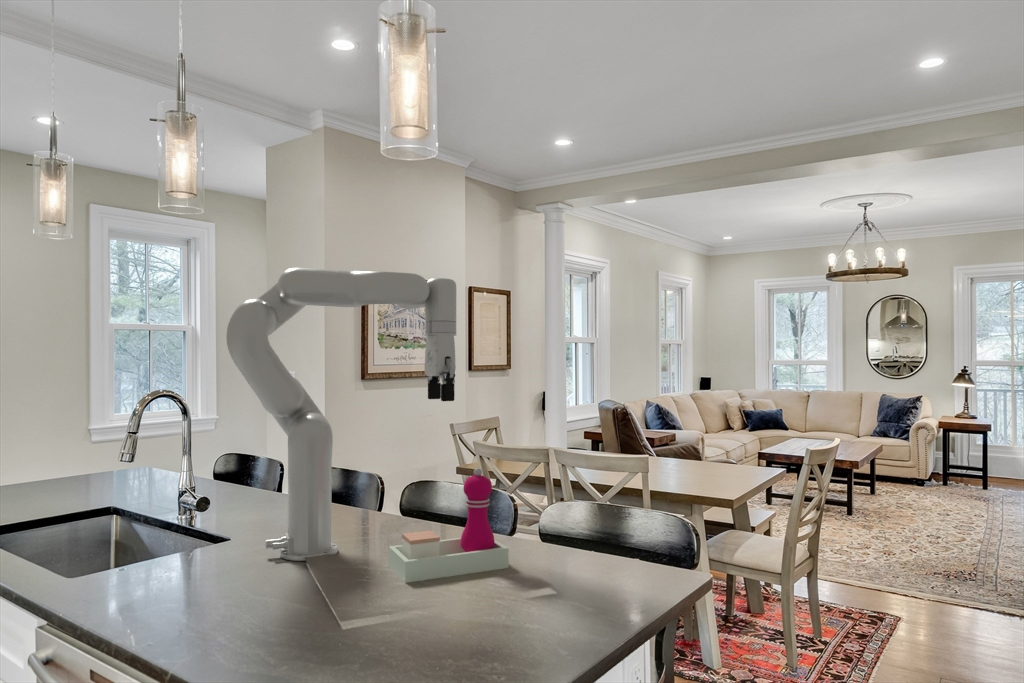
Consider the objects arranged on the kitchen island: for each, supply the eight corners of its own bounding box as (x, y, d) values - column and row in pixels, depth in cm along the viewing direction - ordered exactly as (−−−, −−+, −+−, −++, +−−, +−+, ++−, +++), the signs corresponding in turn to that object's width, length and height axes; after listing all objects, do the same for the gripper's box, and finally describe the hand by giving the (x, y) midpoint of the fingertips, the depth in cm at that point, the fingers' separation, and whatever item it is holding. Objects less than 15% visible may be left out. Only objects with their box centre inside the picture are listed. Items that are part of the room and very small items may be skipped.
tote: (405, 588, 129) (405, 561, 129) (388, 570, 140) (388, 546, 140) (508, 572, 139) (508, 548, 139) (485, 557, 149) (485, 534, 150)
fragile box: (410, 576, 133) (410, 540, 133) (401, 568, 138) (401, 533, 138) (439, 572, 135) (439, 537, 136) (430, 564, 141) (430, 530, 141)
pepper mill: (489, 569, 137) (490, 471, 138) (456, 567, 139) (456, 470, 140) (498, 559, 144) (498, 466, 145) (465, 557, 146) (466, 464, 147)
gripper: (415, 330, 170) (415, 398, 169) (437, 327, 154) (437, 402, 153) (443, 331, 173) (443, 398, 172) (468, 328, 157) (468, 401, 157)
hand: (440, 400), depth 163 cm, fingers open, 9 cm apart
